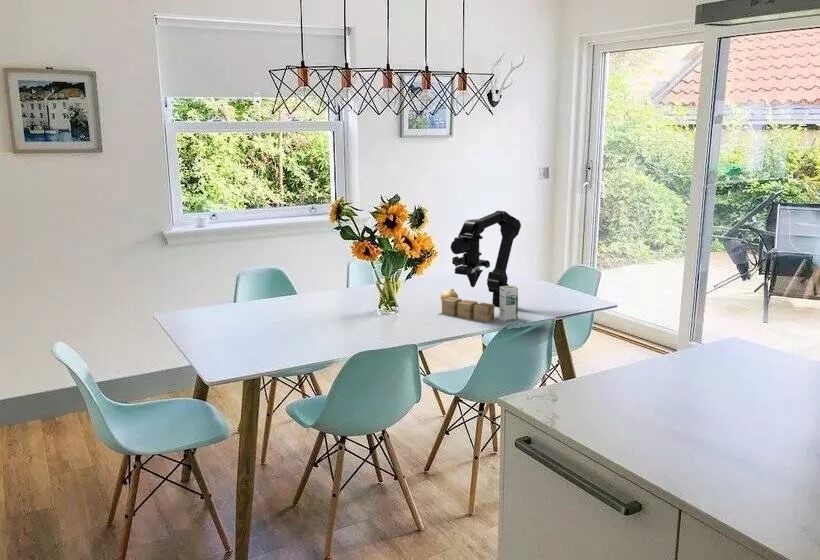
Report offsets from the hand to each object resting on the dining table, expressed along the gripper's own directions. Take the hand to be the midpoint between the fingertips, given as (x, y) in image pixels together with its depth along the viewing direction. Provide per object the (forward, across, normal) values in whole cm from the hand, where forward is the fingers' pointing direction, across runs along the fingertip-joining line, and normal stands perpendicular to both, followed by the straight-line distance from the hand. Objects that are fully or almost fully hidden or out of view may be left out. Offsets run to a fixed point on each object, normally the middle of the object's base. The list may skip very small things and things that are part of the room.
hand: (472, 287), depth 291 cm
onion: (+12, -8, -17) cm, 23 cm away
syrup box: (+12, +2, +18) cm, 22 cm away
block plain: (+10, +8, +2) cm, 13 cm away
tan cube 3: (+10, +8, -6) cm, 14 cm away
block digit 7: (+10, +8, +10) cm, 17 cm away
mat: (+12, +8, +2) cm, 14 cm away
